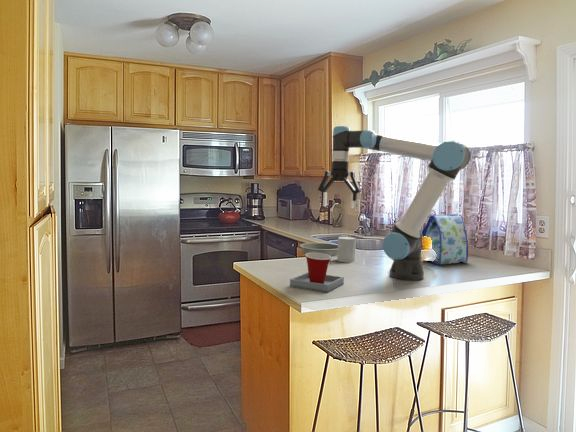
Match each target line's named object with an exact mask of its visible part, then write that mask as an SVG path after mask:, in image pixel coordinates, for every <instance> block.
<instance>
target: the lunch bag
mask: <svg viewBox="0 0 576 432" xmlns="http://www.w3.org/2000/svg"><path fill="white" fill-rule="evenodd" d="M424 236H427V237H430V238H431V240H432V249H433V250H434V251H435V252H436V254H437V257H436V259H435V260H434V261H433V262H432V263H434V264H435V265H450V264H452V263H453V264H461V263H460V262H464V263H468V260H469V241H468V240H469V239H468V235H467V231H466V226H465V222H464V218H463V216H462V215H460V214H455V213H452V214H434V215H429V216H428V219H427V222H426V225H425V226H424V227H423V229H422V238H423V237H424Z"/></svg>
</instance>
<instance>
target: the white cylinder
mask: <svg viewBox="0 0 576 432" xmlns="http://www.w3.org/2000/svg"><path fill="white" fill-rule="evenodd" d="M356 243H357V238H356V237H353V236H339V237H338V238H337V245H338V255H336V256H337V261H338V262H340V263H355V262H356V245H357V244H356Z"/></svg>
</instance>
